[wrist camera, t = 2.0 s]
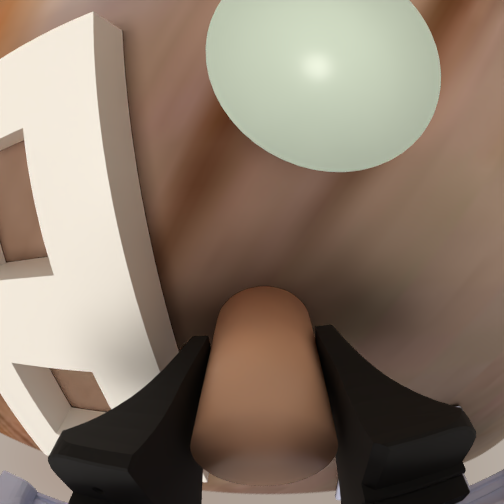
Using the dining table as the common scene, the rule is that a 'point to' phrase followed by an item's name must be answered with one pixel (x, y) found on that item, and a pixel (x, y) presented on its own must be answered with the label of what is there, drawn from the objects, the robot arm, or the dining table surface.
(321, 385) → the peg terracotta
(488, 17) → the dining table surface
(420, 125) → the peg sage
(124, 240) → the white flat block
